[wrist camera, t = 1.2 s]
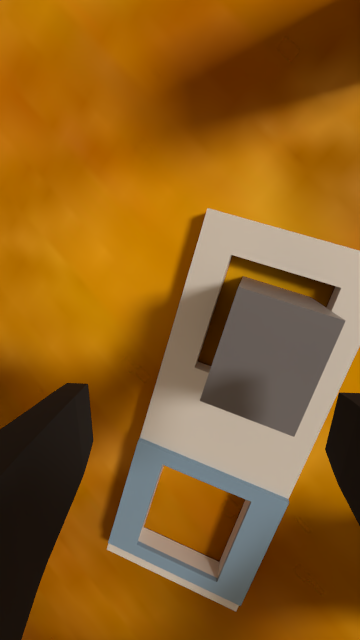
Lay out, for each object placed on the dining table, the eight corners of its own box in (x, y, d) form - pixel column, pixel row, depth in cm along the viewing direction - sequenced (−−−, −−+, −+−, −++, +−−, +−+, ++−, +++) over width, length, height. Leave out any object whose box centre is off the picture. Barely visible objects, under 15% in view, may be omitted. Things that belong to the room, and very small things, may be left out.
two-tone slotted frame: (388, 261, 17) (401, 261, 15) (236, 593, 23) (235, 616, 21) (210, 211, 18) (206, 207, 17) (113, 535, 24) (105, 553, 23)
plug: (310, 297, 18) (345, 320, 11) (279, 374, 19) (294, 437, 12) (243, 276, 18) (238, 286, 12) (217, 352, 20) (199, 400, 13)
